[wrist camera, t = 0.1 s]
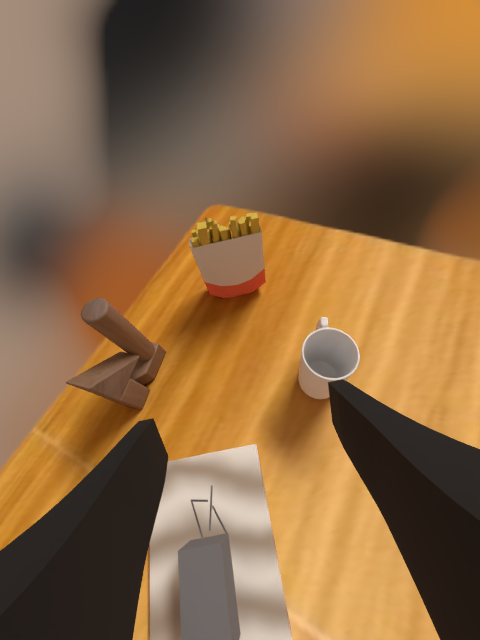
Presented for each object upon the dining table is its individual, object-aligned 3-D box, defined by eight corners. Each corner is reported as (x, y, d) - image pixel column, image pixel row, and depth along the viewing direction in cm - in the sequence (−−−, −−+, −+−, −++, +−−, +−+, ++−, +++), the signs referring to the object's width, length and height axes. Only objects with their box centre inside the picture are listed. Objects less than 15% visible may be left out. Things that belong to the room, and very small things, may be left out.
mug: (342, 402, 40) (364, 380, 30) (297, 401, 41) (303, 380, 31) (334, 341, 45) (351, 305, 35) (294, 342, 46) (298, 306, 36)
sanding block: (240, 633, 29) (233, 663, 25) (197, 641, 30) (182, 672, 25) (228, 532, 34) (221, 542, 29) (190, 539, 34) (177, 551, 30)
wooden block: (124, 405, 45) (39, 373, 29) (149, 347, 49) (89, 293, 34) (142, 410, 44) (66, 381, 28) (167, 351, 49) (113, 298, 33)
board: (292, 639, 29) (292, 644, 28) (153, 663, 30) (149, 669, 29) (256, 444, 39) (255, 443, 38) (152, 465, 40) (149, 465, 39)
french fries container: (209, 283, 55) (181, 211, 39) (261, 272, 54) (253, 194, 39) (212, 301, 52) (183, 232, 37) (266, 289, 52) (260, 214, 36)
